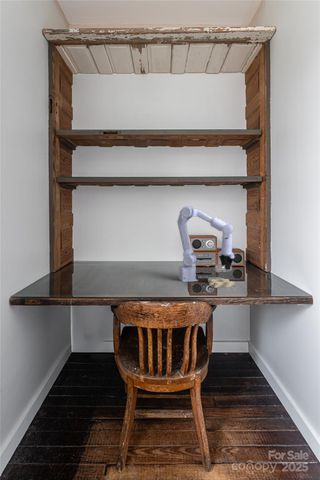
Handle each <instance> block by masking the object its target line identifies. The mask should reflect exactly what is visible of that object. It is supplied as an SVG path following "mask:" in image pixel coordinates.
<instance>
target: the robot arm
mask: <svg viewBox="0 0 320 480" xmlns="http://www.w3.org/2000/svg"><path fill="white" fill-rule="evenodd" d="M192 217H198V218H200V219H202V220H203V221H205V222H208V223H209V225H210V226H211V227H212V228H214V229H216V230H217V231H219V232H221V233H222V238H221V250H220V251H219V252H218V253H219V255H218V258H219V260H220V263H221V264H220V265H225V267H226V270H230V267H231V266H232V263H233V261H234V260H235V254H234V252H233V231H234V227H233V226H232V225H231V224H230V223H228V222H227V221H223V220H221V218H220V217H212V216H210V215H209V214H207V213H205V212H203V211H201V210H200V209H198V208H194V207H193V206H184V207H182V209H181V210H179V215H178V219H177V221H176V222H177V227H178V231H179V236H180V241H181V243H182V249H183V253H182V254H183V255H182V257H183V259H182V261H183V265H181V266H179V275H178V276H179V277H178V280H180V281H181V282H182V283H186V282H189V283H190V282H198V281H199V279H197V278H196V277H197V275H196V273H197V272H196V271H197V270H196V269H197V268H196V267H197V264H196V262H197V256H196V254H195V253H194V249H193V248H192V242H191V239H190V234H189V230H188V225H187V223H188V221H189V220H190V219H191V218H192Z"/></svg>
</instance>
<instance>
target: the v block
mask: <svg viewBox="0 0 320 480" xmlns="http://www.w3.org/2000/svg"><path fill="white" fill-rule="evenodd" d="M221 279H225V278H224V277H223V278H222V276H216V277H215V276H212V277H207V283H209V280H221Z"/></svg>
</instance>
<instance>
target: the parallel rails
mask: <svg viewBox="0 0 320 480" xmlns="http://www.w3.org/2000/svg"><path fill="white" fill-rule="evenodd" d="M235 284H236V283H235V281H230V279H229V278H224V279H221V280H209V282H208V285H209V286H213V288H216V289H217V288H228V287H229V288H231V287H232V286H233V287H235V286H236V285H235Z"/></svg>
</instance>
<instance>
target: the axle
mask: <svg viewBox="0 0 320 480" xmlns="http://www.w3.org/2000/svg"><path fill="white" fill-rule="evenodd" d="M232 270H233V265H231V267H230V270H226V267H225V265H222V264H216V265H214V271H215V273H224V272H225V273H229V272H232Z"/></svg>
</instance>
